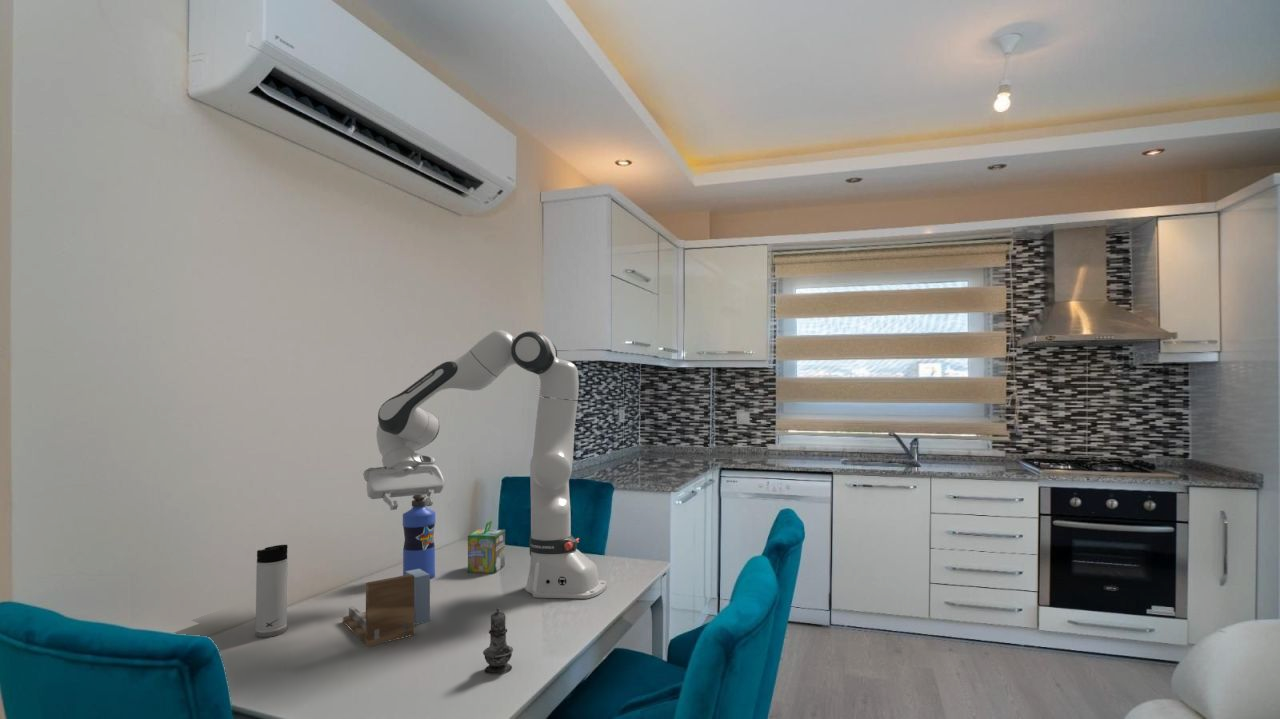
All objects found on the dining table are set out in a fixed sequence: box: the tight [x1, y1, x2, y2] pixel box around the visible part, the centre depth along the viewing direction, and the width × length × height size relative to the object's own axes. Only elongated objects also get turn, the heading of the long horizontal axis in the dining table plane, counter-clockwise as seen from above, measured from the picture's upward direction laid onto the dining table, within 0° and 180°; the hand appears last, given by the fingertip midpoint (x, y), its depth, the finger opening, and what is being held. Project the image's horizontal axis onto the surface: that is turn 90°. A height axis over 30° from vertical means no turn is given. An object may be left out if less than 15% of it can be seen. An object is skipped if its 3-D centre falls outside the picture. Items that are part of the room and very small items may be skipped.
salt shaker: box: [482, 607, 514, 676], centre depth 127 cm, size 6×6×12 cm
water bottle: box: [402, 494, 436, 580], centre depth 192 cm, size 9×9×25 cm
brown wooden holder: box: [342, 574, 415, 647], centre depth 150 cm, size 20×10×13 cm, turn 39°
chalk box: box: [467, 519, 506, 574], centre depth 200 cm, size 9×9×15 cm
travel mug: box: [255, 544, 289, 638], centre depth 149 cm, size 6×7×20 cm
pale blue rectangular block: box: [405, 569, 431, 625], centre depth 157 cm, size 7×4×11 cm, turn 39°
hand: (412, 506), depth 171 cm, fingers open, 8 cm apart
